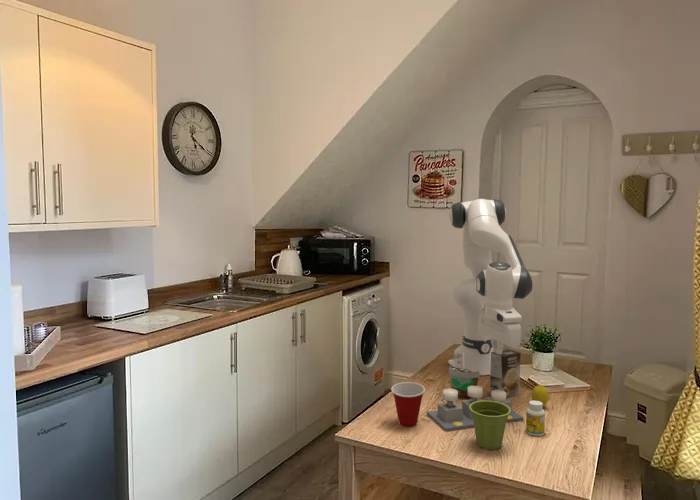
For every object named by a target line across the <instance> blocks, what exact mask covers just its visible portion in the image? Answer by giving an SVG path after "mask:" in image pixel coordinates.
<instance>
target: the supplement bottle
mask: <svg viewBox="0 0 700 500" xmlns="http://www.w3.org/2000/svg"><path fill="white" fill-rule="evenodd" d="M528 406H529V407H528V408H526V418H525V419H526V421H525V423H526V424H525V428H526V429H525V431H526V433H527V434H529V435H530V436H535V437H541V436H543V435H545V429H546V428H545V427H546V425H545V421H546V412H545V410H544V409H543V408H544V407H543V403H542V402H540V401H533V400H530V401H529V402H528Z"/></svg>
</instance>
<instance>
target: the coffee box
mask: <svg viewBox="0 0 700 500" xmlns="http://www.w3.org/2000/svg"><path fill="white" fill-rule="evenodd" d="M521 356H522V352H519V351H516V350H513V349H510V348H509V349H508V348H507V349H502V354H497V353H494V352H491V370H490V375H489V376H490V379H489V395H490V396H491V392H492V391H493V390H502V391H505V392H506V399H510V398H512V397H513V398H514V397H516V396H519V395H520V379H521V378H520V377H521V376H520V375H521Z"/></svg>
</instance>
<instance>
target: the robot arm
mask: <svg viewBox="0 0 700 500" xmlns="http://www.w3.org/2000/svg"><path fill="white" fill-rule="evenodd" d="M506 216H507V208H506V205H505V203H504V201H503V200H501V199H494V198H493V199H486V198H478V199H475V200H468V201H464V202H461V201H458V202H455V203H452V205H451V206H450V209H449V213H448V217H449V221H450V223H451V225H452V227H453V228H455V229H463V232H462V249H463V250H462V251H463V252H462V254H463V264H464V265H465V267H467V268H468V269H469V270H470V271H471V274H472V277H473V278H469V279H464V280H461V281H460V282H457V283H456V284H455V285H454V286H453V288H452V294H451V295H452V298H453V301H454V303H456V305H458V306H459V307H460V309H461V311H462V313H463V314H462V315H463V319H464V335H462V336H461V338H462V343H461V344H460V345H459V346H458V347H457V348H456V349H454V351H453V352H454V353H452V354H453V355H452V356H453V357H452V358H451V359H449V360H448V361H447V363H448V364H449V365H450V366H451V365H452V364H453V367H456V368H460V369H467V370H469V371H471V372H477V371H479V374H480V376H488V375H489V376H490V370H491V352H494V353H497V354H502V350H504V348H505V346H506V347H507V346H508V347H509V348H516V347H519V346H520V344H521V339H522V326H521V323H522V320H523V317H522V315H521V314H520V312H518V311H517V310H516V309H515V308H514V306H513V305H514V302H513V299H516V300H517V299H518V300H523V299H525V298H526V297H528V296H529V295H530V294H531V292H532V291H533V279H532V276H531V274H530V272H529V271H528V270H527V268H526V266H525V264H524V262H523V259H522V257H521V255H520V252H519V250H518V248H517V246H516V243H515V241H514V239H513V238H512V236H511V235H510V234H508V233H507V232H506V231H504V230H503V228H502V227H501V225H502V224H503V223H504V222H505V221H506V218H507V217H506ZM492 251H493V252H496V253H499V254H500V255H502V256H503V257H504V258H505V260H506V262H502V261H492V260H493V259H492Z"/></svg>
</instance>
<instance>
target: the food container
mask: <svg viewBox="0 0 700 500" xmlns="http://www.w3.org/2000/svg"><path fill="white" fill-rule="evenodd" d="M448 374H449V375H450V387H451V388H450V389H455V390H457V391H458V399H464V400H471V399H472V397H469V396H468V395H467V392H468V387H469V386H478V382H479V378H480V377H481V375H480V374H479V371H477V372H471V371H469V370H467V369H460V368H456V367H453V364H452V365H450V366H449V367H448Z"/></svg>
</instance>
